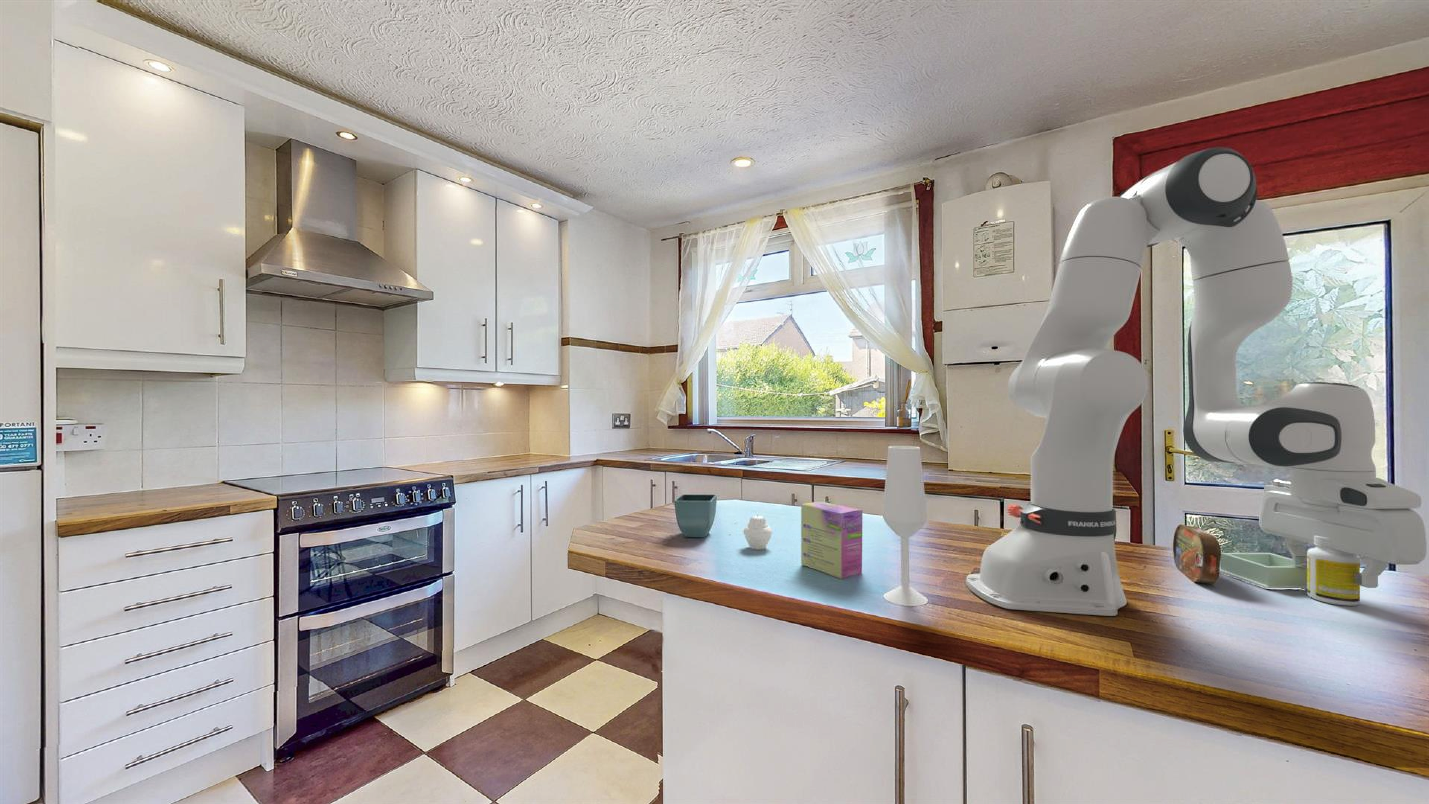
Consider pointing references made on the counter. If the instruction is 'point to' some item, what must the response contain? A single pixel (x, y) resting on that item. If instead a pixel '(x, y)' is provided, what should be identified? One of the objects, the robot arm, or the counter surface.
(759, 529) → the white rounded piece
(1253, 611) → the counter surface
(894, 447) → the champagne flute
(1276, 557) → the tray
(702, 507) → the flower pot
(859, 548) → the box
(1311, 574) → the supplement bottle
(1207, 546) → the tin
